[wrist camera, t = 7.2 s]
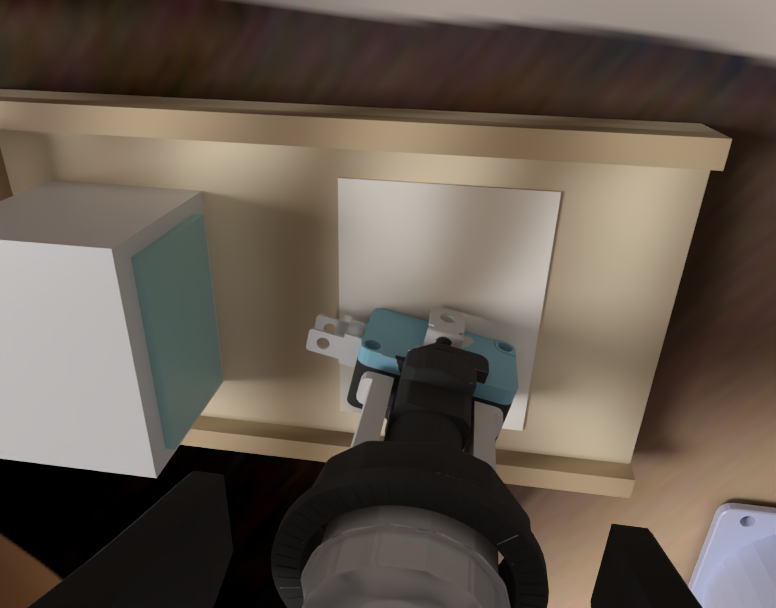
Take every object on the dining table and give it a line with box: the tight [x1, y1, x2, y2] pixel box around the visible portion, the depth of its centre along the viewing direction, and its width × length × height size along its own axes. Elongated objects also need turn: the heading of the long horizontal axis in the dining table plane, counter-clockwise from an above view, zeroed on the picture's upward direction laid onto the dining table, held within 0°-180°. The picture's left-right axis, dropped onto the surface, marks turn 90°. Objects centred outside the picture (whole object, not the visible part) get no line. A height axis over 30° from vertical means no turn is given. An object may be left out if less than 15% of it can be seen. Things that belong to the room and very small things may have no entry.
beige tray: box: [0, 89, 732, 498], centre depth 19 cm, size 22×12×4 cm, turn 88°
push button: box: [271, 307, 549, 608], centre depth 15 cm, size 7×5×10 cm
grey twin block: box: [0, 181, 224, 478], centre depth 18 cm, size 5×7×5 cm
